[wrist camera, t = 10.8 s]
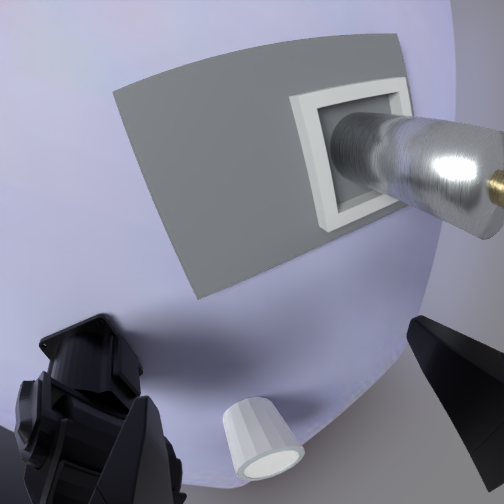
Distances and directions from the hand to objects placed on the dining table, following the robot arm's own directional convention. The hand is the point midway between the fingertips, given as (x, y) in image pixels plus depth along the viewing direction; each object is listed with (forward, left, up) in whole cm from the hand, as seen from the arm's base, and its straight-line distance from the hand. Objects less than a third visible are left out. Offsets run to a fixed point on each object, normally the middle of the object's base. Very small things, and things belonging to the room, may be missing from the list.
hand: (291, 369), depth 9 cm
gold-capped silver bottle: (+12, +2, -11) cm, 16 cm away
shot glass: (-3, -21, -13) cm, 25 cm away
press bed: (+8, +3, -13) cm, 15 cm away
